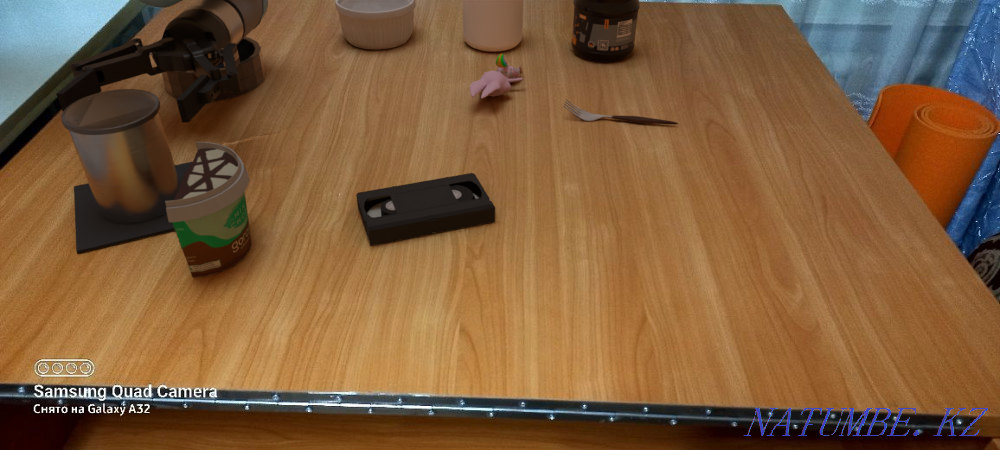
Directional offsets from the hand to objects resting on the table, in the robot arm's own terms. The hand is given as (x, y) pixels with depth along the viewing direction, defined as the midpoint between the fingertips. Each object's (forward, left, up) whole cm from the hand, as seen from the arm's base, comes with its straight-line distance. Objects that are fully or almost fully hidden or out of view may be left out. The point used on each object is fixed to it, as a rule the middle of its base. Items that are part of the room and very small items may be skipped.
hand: (122, 108), depth 81 cm
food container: (+15, +7, -12) cm, 20 cm away
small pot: (+2, -1, -11) cm, 11 cm away
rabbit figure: (-7, +49, -12) cm, 51 cm away
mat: (+2, -1, -11) cm, 11 cm away
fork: (+8, +61, -12) cm, 63 cm away
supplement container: (-14, +72, -12) cm, 74 cm away
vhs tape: (+18, +28, -12) cm, 35 cm away
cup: (-25, +57, -12) cm, 63 cm away
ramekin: (-35, +40, -12) cm, 54 cm away
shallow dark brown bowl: (-28, +12, -11) cm, 33 cm away
